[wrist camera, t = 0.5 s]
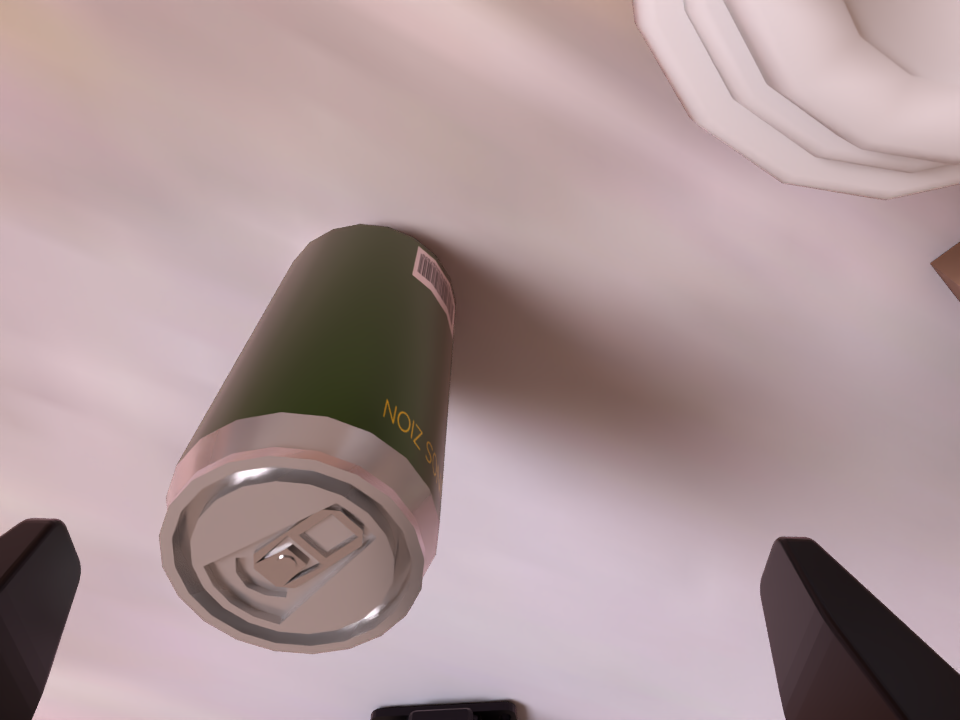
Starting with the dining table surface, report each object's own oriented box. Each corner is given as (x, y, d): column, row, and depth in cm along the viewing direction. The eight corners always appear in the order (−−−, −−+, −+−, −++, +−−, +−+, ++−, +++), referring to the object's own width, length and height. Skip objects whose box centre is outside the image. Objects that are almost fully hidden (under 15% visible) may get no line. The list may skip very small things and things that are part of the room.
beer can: (379, 180, 23) (292, 389, 13) (490, 309, 25) (495, 580, 15) (253, 283, 25) (85, 544, 14) (367, 396, 27) (293, 697, 16)
